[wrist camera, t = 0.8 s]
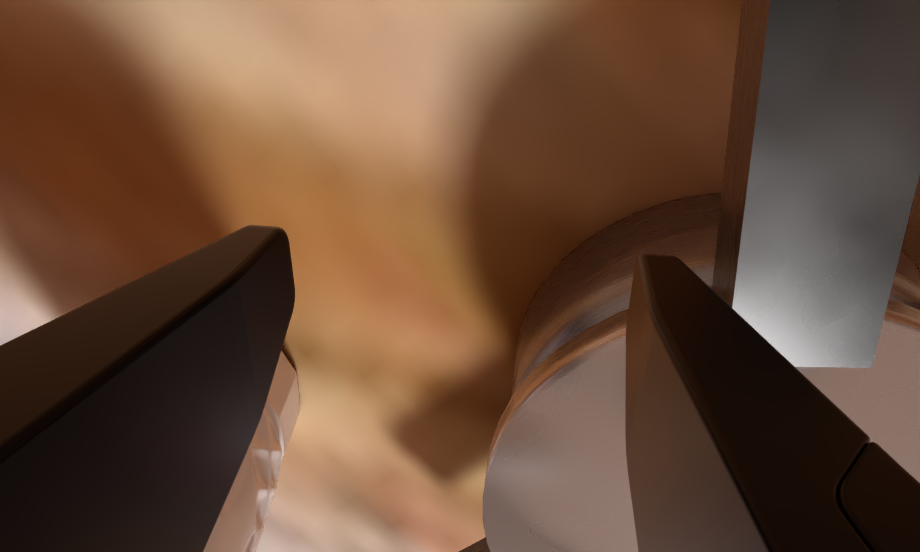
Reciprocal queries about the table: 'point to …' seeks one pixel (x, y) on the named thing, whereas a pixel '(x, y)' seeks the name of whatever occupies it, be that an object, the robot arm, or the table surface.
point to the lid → (756, 270)
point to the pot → (611, 274)
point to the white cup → (259, 468)
